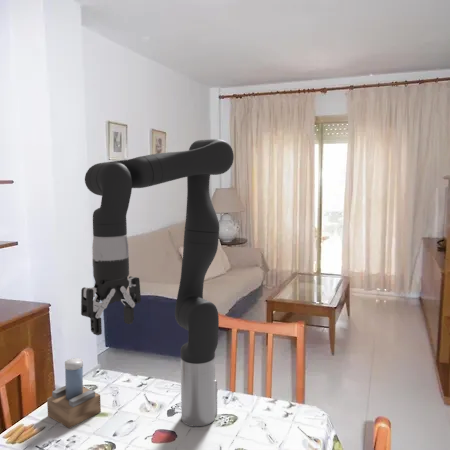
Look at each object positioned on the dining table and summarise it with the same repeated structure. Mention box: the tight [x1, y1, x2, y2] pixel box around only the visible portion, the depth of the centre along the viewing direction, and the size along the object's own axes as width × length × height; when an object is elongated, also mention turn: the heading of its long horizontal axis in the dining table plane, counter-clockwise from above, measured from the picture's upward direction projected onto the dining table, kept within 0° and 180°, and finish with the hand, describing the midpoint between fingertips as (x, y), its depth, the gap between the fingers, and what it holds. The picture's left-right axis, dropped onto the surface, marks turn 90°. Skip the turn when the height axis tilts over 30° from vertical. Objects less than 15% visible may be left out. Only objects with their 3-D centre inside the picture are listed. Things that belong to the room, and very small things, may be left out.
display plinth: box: [46, 385, 102, 429], centre depth 119 cm, size 10×10×6 cm
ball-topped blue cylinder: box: [64, 357, 84, 400], centre depth 119 cm, size 5×5×10 cm
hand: (113, 328), depth 95 cm, fingers open, 8 cm apart
